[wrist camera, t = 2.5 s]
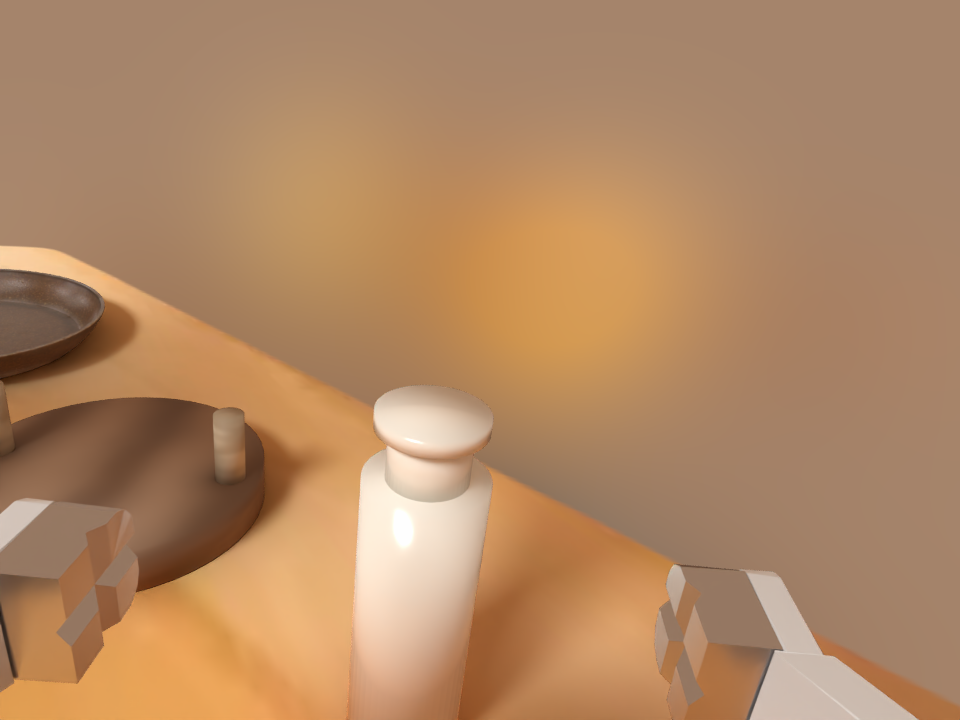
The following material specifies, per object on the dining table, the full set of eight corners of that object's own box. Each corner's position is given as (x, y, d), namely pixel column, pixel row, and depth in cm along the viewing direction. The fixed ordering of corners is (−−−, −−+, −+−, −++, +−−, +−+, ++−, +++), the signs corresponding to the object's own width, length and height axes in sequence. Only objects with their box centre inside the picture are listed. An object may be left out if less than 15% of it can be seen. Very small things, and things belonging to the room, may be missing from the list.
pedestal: (-143, 580, 32) (-179, 461, 29) (60, 417, 47) (48, 329, 44) (202, 619, 32) (195, 505, 30) (295, 445, 47) (297, 359, 44)
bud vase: (335, 763, 27) (352, 437, 21) (358, 667, 31) (377, 374, 25) (453, 776, 27) (502, 455, 21) (459, 678, 31) (502, 389, 25)
